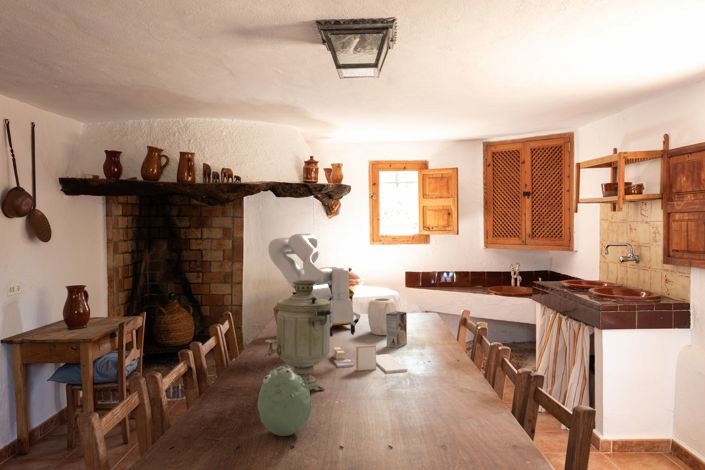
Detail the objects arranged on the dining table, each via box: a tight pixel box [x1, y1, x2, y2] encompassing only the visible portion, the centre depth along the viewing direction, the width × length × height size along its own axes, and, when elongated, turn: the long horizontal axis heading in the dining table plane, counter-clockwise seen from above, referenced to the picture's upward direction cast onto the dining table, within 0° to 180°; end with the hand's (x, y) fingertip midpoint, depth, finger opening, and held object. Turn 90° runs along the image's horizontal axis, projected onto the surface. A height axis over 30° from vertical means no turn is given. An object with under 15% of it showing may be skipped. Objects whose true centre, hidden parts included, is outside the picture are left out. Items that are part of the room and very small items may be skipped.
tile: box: [355, 344, 377, 372], centre depth 216 cm, size 8×2×10 cm, turn 105°
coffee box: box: [386, 310, 408, 349], centre depth 257 cm, size 9×6×16 cm
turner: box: [332, 346, 355, 369], centre depth 229 cm, size 18×7×4 cm, turn 15°
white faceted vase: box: [367, 297, 398, 336], centre depth 281 cm, size 16×27×19 cm, turn 7°
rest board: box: [376, 353, 408, 374], centre depth 224 cm, size 9×24×1 cm, turn 15°
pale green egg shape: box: [257, 364, 313, 437], centre depth 153 cm, size 16×19×20 cm
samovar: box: [262, 280, 332, 392], centre depth 190 cm, size 30×26×40 cm
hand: (341, 335), depth 229 cm, fingers open, 9 cm apart
